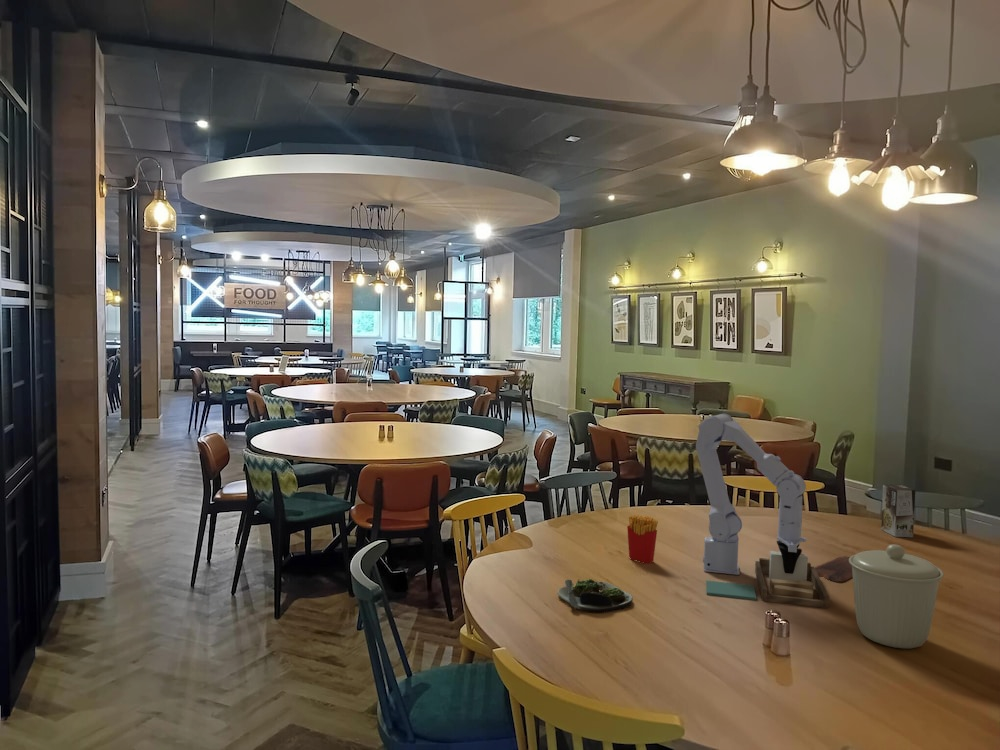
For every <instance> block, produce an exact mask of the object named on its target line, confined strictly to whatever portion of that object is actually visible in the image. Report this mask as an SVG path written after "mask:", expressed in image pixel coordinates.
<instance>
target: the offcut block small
mask: <svg viewBox="0 0 1000 750" xmlns="http://www.w3.org/2000/svg"><path fill="white" fill-rule="evenodd" d="M774 595H780V596H789V597H799V598H808V599H814V589H813V590H809V589H803V588H796V587H789V586H782V585H775V584H774Z"/></svg>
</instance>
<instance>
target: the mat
mask: <svg viewBox="0 0 1000 750" xmlns="http://www.w3.org/2000/svg"><path fill="white" fill-rule="evenodd" d="M705 583H706V584H705V586H706V587H705V589H706V595H707V596H716V597H723V598H724V597H725V598H732V599H733V598H735V599H741V600H750V601H751V600H752V601H757V595H756V594H757V593H756V590H755V587H754V586H755V585H752V584H742V583H735V582H734V583H733V582H725V581H724V582H723V581H717V580H716V581H715V580H706V581H705Z"/></svg>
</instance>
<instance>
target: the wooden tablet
mask: <svg viewBox="0 0 1000 750" xmlns="http://www.w3.org/2000/svg"><path fill="white" fill-rule="evenodd" d="M842 556H843V557H842ZM842 556H838V557H836V558H833V559H831V560H828V561H826V562H823V563H821V564H819V565H817V566H814V568H815V570H816V572H817V574H818V576H819V578H822V577H824V578H825V579H824V578H823V579H824V580H826V579H827V581H829V580H830V581H829V582H833V583H838V584H842V583H844V582H846V581H848V580H850V579H853V574H852V565H851V564H850V563H849V558H850V557H851V556H847V555H846V556H844V555H842Z"/></svg>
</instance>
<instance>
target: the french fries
mask: <svg viewBox="0 0 1000 750" xmlns="http://www.w3.org/2000/svg"><path fill="white" fill-rule="evenodd" d="M628 519H629V520H628V521H629V524H628V525H627V539H628V540H627V542H628V543H627V544H628V558H629V557H630V558H631V559H633V560H637V561H640V562H639V563H641V562H644V563H643V564H651V562H652V561H653V562H654V558H655V557H654V556H655V551H656V541H657V536H658V535H657V533H658V530H657V527H658V523H659V520H657V519H655V518H654V517H652V516H648V515H645V516H643V515H638V514H637V515H636V514H635V515H629V517H628ZM630 558H629V559H630ZM631 559H630V560H631ZM633 560H632V561H633ZM637 561H636V562H637ZM653 562H652V563H653Z"/></svg>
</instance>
